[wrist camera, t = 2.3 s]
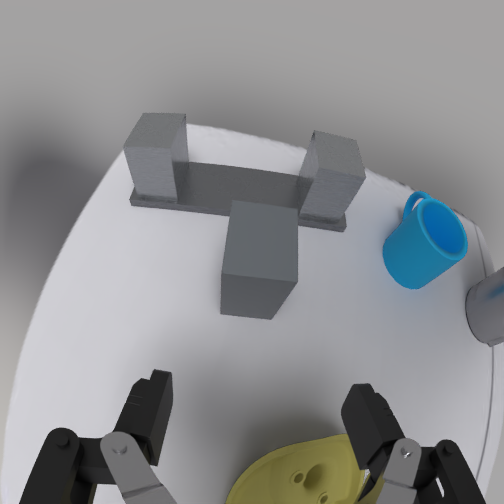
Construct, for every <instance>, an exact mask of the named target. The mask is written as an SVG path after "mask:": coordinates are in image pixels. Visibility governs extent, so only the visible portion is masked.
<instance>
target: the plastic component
mask: <svg viewBox="0 0 504 504" xmlns="http://www.w3.org/2000/svg"><path fill="white" fill-rule="evenodd" d="M364 474H365V470H359V467H358V464H357V461H356V458H355V455H354V452H353V449H352V446H351V443H350V440H349V437H348V434H339V435H334V436H330V437H326V438H322V439H317V440H311V441H306V442H301V443H296V444H292V445H288V446H285V447H282V448H279V449H277V450H274V451H272V452H270V453H268V454H266V455H264V456H263V457H261V458H260V459H258V460H257V461H256V462H254V463H253V464H252V465H251V466H250V467H248V468H247V469H246V470H245V471H244V472H243V474H242V475H241V476H240V477H239V478H238V479H237V481H236V482H235V484H234V485H233V487H232V489H231V491H230V493H229V495H228V497H227V500H226V503H225V504H353V503H354V501H355V500H356V498H357V496H358V494H359V492H360V490H361V488H362V485H363V480H364Z"/></svg>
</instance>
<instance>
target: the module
mask: <svg viewBox="0 0 504 504" xmlns="http://www.w3.org/2000/svg"><path fill="white" fill-rule="evenodd" d="M297 282H298V209H294V208H287V207H281V206H274V205H267V204H259V203H252V202H244V201H236V200H232V206H231V212H230V219H229V225H228V232H227V238H226V245H225V252H224V259H223V266H222V275H221V314H224V315H232V316H241V317H250V318H260V319H270V320H271V319H272V318H273V316H274V315H275V314H276V312H277V311H278V309H279V308H280V307H281V305H282V304H283V302H284V301H285V300H286V298H287V297H288V295H289V294H290V292H291V291H292V290H293V288H294V287H295V285H296V284H297Z"/></svg>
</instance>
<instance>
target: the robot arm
mask: <svg viewBox="0 0 504 504" xmlns="http://www.w3.org/2000/svg"><path fill="white" fill-rule="evenodd" d="M466 311H467V317H468V322H469V325H470V327H471V330H472V332H473V333H474V335H475V336H476V338H477V339H478V340H480V341H481V342H484V343H488V344H489V345H490V347H492V346H494V345H497V344H500V343H502V342H504V267H503V268H501V269H500V270H498V271H497V272H495V273H494V274H492V275H491V276H489V277H488V278H486V279H484V280H482V281H481V282H479V283H478V284H477V285H475V286H473V287H472V288H471V289H470V291H469V293H468V296H467V301H466ZM172 404H173V386H172V373H171V372H167V371H162V370H156V369H154V370H153V373H152V375H151V378H150V380H147V379H143V378H141V379H140V380H139V381H137V382H136V383H135V384H134V385H133V387H132V389H131V391H130V393H129V396H128V398H127V400H126V403H125V405H124V407H123V409H122V412H121V414H120V416H119V419H118V421H117V424H116V426H115V428H114V430H113V431H112V432H111V433H109V434H107V435H105V436H104V437H103V438H80V437H78V436H77V435H76V434H75V433H74V432H73V431H72V430H70V429H67V428H56V429H54V430H52V431H51V432H50V433H49V434H48V436H47V438H46V440H45V442H44V444H43V446H42V448H41V450H40V453H39V455H38V457H37V459H36V462H35V464H34V466H33V469H32V471H31V474H30V476H29V478H28V481H27V484H26V486H25V489H24V491H23V494H22V497H21V500H20V502H19V504H93V500H94V496H95V492H96V488H97V484H113V485H117V486H118V488H119V490H120V492H121V494H122V497H123V499H124V501H125V503H126V504H177V503H176V502H175V500H174V499H173V498H172V496H171V495H170V493H169V492H168V490H167V489H166V488H165V486H164V485H163V484H161V483H160V481H159V480H158V478H157V477H156V475H155V474H154V472H153V470H152V469H151V467H150V465H153V466H158V462H159V458H160V453H161V449H162V445H163V441H164V437H165V433H166V429H167V425H168V421H169V417H170V413H171V409H172ZM341 416H342V420H343V423H344V426H345V428H346V431H347V434H348V437H349V440H350V443H351V446H352V449H353V452H354V455H355V458H356V461H357V464H358V467H359V470H365V469H369V471H370V473H369V474H368V476H367V478H366V480H365V482H364V484H363V486H362V488H361V490H360V492H359V494H358V496H357V498H356V500H355V501H354V503H353V504H486V503H485V500H484V498H483V496H482V494H481V491H480V489H479V487H478V485H477V483H476V481H475V479H474V476H473V474H472V472H471V470H470V468H469V466H468V464H467V462H466V460H465V459H464V457H463V455H462V453H461V451H460V449H459V447H458V446H457V444H456V443H455V442H453V441H451V440H442V441H440V442H439V443H438V444H437V445H436V446H435V447H420V445H419V444H418V443H417V442H416V441H414V440H412V439H409V438H406V437H405V436H404V434H403V432H402V430H401V428H400V426H399V424H398V422H397V420H396V418H395V416H393V413H392V411H391V409H390V407H389V405H388V403H387V401H386V400H385V399H384V398H383V397H382V396H381V395H380V394H379V393H375V392H374V390H373V388H372V386H371V385H370V384H369V383H366V384H354V385H353V386H352V387H351V389H350V391H349V393H348V395H347V397H346V399H345V402H344V404H343V406H342V409H341ZM437 478H439V480H440V482H441V485H442V487H443V490H444V497H442V494H441V492H440V489H439V487H438V484H437V482H436V479H437Z"/></svg>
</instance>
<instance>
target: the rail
mask: <svg viewBox="0 0 504 504" xmlns="http://www.w3.org/2000/svg"><path fill="white" fill-rule="evenodd" d="M123 149H124V153H125V156H126V160H127V163H128V167H129V170H130V173H131V176H132V180H133V183H134V186H135V187H134V189H133V192H132V194H131V197H130V199H129V200H130V203H131V206H140V207H151V208H161V209H171V210H180V211H189V212H198V213H207V214H215V215H224V216H230V212H231V206H232V200H236V201H244V202H252V203H259V204H267V205H274V206H281V207H287V208H294V209H298V225H299V226H306V227H312V228H319V229H326V230H332V231H338V232H343V231H344V230H345V228H346V219H345V211H346V210H347V208H348V206H349V205H350V203H351V202H352V200H353V198H354V197H355V195H356V194H357V192H358V190H359V189H360V187H361V185H362V184H363V182H364V180H365V179H366V175H365V171H364V167H363V164H362V160H361V156H360V153H359V149H358V146H357V142H356V140H353V139H349V138H345V137H341V136H337V135H333V134H328V133H324V132H319V131H314V132H313V135H312V138H311V141H310V144H309V147H308V150H307V153H306V155H305V158H304V161H303V164H302V167H301V170H300V173H299V176H296V175H290V174H284V173H278V172H271V171H264V170H257V169H250V168H242V167H234V166H225V165H216V164H206V163H195V162H189V159H188V146H187V130H186V114H176V113H143V115H142V116H141V118H140V119H139V121H138V122H137V124H136V125H135V127H134V129H133V130H132V132H131V134H130V135H129V137H128V139H127V140H126V142H125V144H124V146H123Z"/></svg>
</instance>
